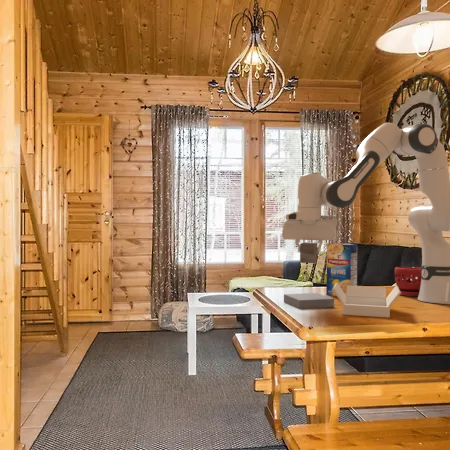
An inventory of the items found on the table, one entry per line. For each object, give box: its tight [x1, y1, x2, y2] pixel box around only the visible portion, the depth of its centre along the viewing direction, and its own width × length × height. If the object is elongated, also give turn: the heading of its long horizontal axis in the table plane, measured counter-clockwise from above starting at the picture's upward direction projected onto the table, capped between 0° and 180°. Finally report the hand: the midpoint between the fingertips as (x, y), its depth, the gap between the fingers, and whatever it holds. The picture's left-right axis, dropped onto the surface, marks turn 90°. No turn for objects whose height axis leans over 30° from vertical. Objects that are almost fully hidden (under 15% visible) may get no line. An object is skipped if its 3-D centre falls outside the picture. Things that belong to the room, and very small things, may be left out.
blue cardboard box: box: [325, 242, 358, 297], centre depth 201 cm, size 7×11×22 cm, turn 52°
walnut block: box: [299, 241, 318, 264], centre depth 178 cm, size 12×5×7 cm, turn 163°
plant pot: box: [394, 266, 422, 298], centre depth 204 cm, size 13×13×12 cm
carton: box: [333, 283, 401, 318], centre depth 167 cm, size 21×22×9 cm
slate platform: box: [283, 292, 335, 309], centre depth 178 cm, size 14×14×3 cm
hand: (308, 252), depth 178 cm, fingers closed on walnut block, 5 cm apart
